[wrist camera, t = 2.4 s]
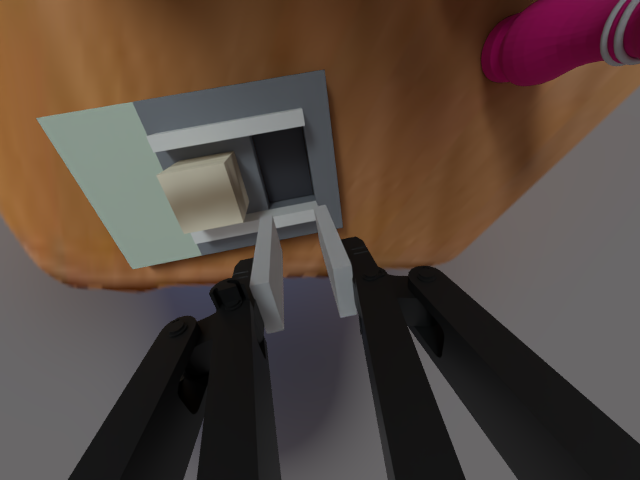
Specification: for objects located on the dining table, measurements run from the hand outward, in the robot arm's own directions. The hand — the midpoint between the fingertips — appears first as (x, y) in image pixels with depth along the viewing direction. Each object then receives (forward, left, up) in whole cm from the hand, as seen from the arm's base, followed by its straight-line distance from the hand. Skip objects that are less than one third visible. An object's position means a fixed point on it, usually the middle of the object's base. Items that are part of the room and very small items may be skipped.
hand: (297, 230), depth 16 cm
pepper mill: (-8, +27, -19) cm, 34 cm away
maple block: (0, -8, -16) cm, 18 cm away
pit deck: (0, -8, -19) cm, 20 cm away
